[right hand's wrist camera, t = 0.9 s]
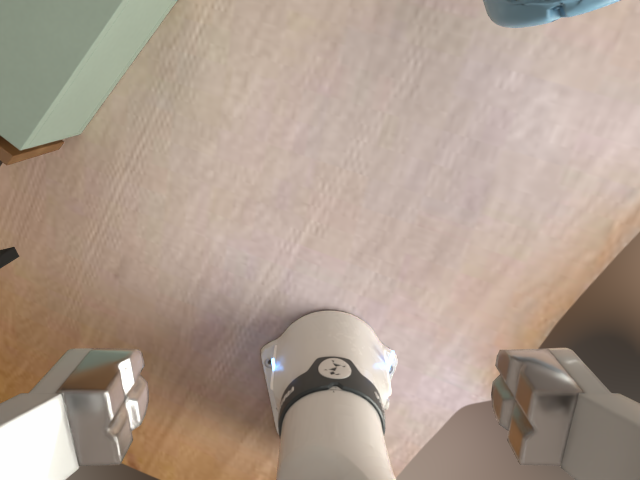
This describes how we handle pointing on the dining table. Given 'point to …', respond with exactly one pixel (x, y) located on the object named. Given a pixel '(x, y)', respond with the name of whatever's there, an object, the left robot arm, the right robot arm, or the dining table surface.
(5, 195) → the dining table surface
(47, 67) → the cabinet
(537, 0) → the left robot arm
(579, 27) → the dining table surface
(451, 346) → the dining table surface
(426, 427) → the dining table surface
